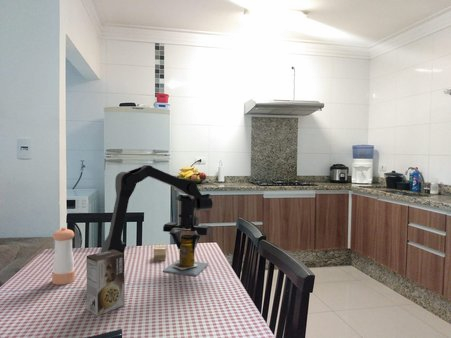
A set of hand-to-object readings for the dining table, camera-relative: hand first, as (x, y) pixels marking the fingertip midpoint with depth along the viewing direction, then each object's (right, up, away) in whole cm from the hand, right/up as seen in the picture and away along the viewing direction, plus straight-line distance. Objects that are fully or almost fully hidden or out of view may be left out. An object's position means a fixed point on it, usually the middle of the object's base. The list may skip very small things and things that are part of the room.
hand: (186, 249), depth 136 cm
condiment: (-1, -7, 0) cm, 7 cm away
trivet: (0, -8, 0) cm, 8 cm away
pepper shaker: (-42, -8, -15) cm, 46 cm away
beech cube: (-13, -7, +13) cm, 19 cm away
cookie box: (-20, -9, -35) cm, 42 cm away
